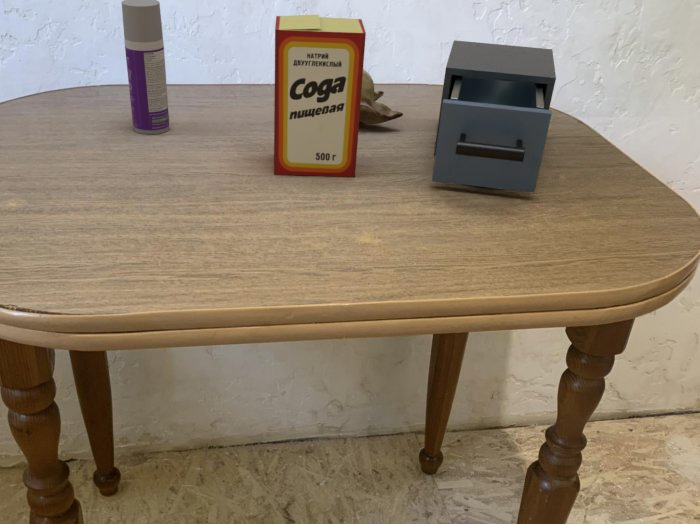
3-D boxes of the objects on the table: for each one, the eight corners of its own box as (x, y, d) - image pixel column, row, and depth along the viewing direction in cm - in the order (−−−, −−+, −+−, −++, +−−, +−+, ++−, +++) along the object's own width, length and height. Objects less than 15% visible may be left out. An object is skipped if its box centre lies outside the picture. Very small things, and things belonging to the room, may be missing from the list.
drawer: (534, 209, 82) (553, 127, 77) (428, 196, 84) (439, 115, 79) (532, 154, 96) (548, 80, 90) (440, 144, 97) (451, 71, 92)
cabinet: (536, 167, 95) (556, 77, 88) (433, 155, 96) (445, 67, 90) (534, 131, 105) (552, 49, 99) (442, 121, 107) (453, 40, 101)
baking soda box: (351, 156, 95) (361, 15, 86) (354, 176, 90) (366, 29, 80) (275, 154, 95) (276, 12, 85) (273, 174, 90) (275, 25, 80)
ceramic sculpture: (282, 42, 103) (388, 48, 106) (277, 108, 108) (379, 111, 112) (297, 65, 95) (412, 70, 98) (291, 135, 100) (400, 137, 103)
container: (126, 127, 101) (112, 0, 92) (156, 120, 103) (146, -4, 94) (146, 137, 98) (134, 8, 89) (176, 129, 101) (168, 3, 91)
